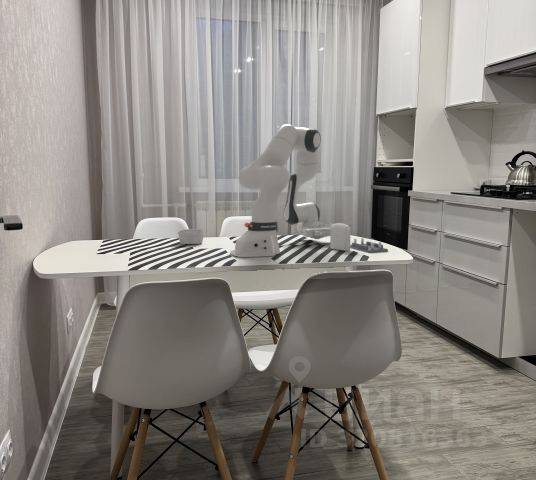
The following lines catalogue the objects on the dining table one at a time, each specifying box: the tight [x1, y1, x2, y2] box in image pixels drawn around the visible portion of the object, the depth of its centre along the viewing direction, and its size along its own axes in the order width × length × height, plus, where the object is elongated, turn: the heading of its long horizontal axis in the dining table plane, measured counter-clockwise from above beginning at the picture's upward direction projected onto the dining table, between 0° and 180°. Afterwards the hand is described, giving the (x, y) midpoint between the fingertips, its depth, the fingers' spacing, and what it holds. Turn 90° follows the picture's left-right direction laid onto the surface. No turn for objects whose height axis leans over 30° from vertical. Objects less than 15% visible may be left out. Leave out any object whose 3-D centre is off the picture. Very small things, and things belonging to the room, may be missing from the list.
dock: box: [350, 237, 389, 254], centre depth 219 cm, size 10×18×4 cm, turn 22°
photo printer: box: [329, 222, 351, 252], centre depth 217 cm, size 10×4×12 cm, turn 39°
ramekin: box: [177, 228, 205, 245], centre depth 241 cm, size 13×13×7 cm
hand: (329, 233), depth 226 cm, fingers open, 8 cm apart
